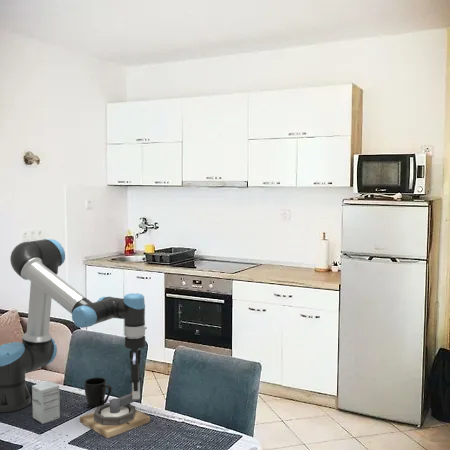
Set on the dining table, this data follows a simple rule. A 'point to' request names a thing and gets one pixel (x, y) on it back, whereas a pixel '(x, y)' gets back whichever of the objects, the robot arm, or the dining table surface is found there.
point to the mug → (96, 391)
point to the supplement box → (45, 402)
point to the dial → (118, 406)
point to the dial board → (114, 428)
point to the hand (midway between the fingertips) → (136, 398)
